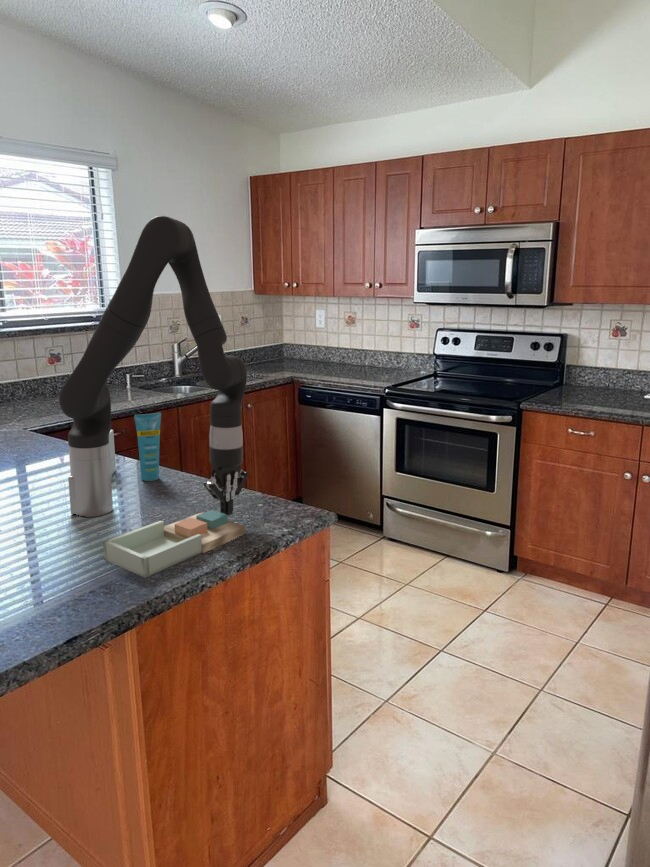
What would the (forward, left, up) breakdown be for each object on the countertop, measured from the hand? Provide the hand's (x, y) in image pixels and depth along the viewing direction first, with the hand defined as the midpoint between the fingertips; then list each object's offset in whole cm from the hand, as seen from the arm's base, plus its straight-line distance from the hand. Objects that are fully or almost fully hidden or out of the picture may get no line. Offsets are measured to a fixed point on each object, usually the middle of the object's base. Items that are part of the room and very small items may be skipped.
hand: (227, 514), depth 152 cm
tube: (-23, +36, -3) cm, 43 cm away
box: (-14, -16, -3) cm, 22 cm away
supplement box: (-38, +41, -3) cm, 56 cm away
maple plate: (-5, -6, -3) cm, 8 cm away
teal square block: (-3, -4, -1) cm, 5 cm away
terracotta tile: (-7, -9, -1) cm, 12 cm away
